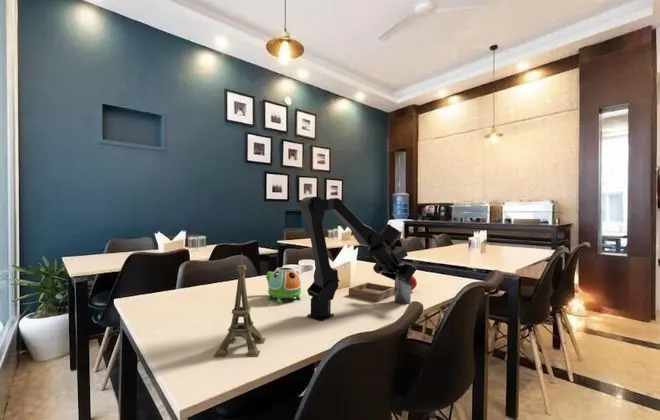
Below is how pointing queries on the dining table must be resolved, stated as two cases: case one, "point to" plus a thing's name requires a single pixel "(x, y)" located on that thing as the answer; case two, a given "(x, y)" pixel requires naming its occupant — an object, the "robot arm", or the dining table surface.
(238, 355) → the dining table surface
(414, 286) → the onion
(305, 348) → the dining table surface
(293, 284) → the turtle holder
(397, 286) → the tin
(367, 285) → the tray
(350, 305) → the dining table surface
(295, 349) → the dining table surface
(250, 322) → the eiffel tower
